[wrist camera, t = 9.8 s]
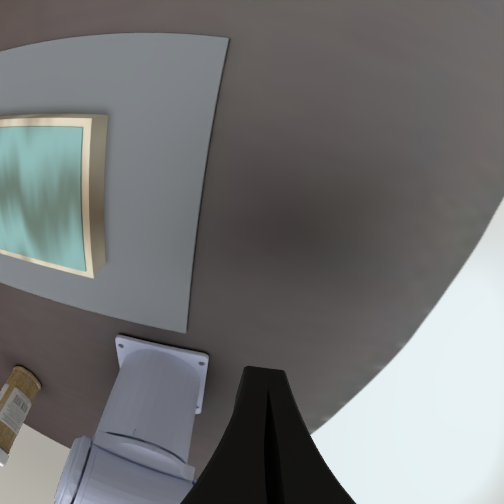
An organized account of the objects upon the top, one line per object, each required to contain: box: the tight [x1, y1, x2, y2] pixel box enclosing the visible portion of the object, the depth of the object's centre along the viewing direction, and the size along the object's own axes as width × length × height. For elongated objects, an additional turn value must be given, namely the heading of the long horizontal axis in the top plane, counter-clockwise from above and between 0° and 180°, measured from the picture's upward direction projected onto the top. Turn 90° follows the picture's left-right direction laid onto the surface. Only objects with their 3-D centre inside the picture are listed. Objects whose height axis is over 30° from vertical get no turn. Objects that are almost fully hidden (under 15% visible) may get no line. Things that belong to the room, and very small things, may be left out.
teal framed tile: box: [0, 114, 108, 279], centre depth 16 cm, size 10×2×11 cm
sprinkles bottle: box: [0, 366, 41, 466], centre depth 23 cm, size 5×5×14 cm
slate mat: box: [0, 33, 230, 334], centre depth 17 cm, size 20×22×1 cm
